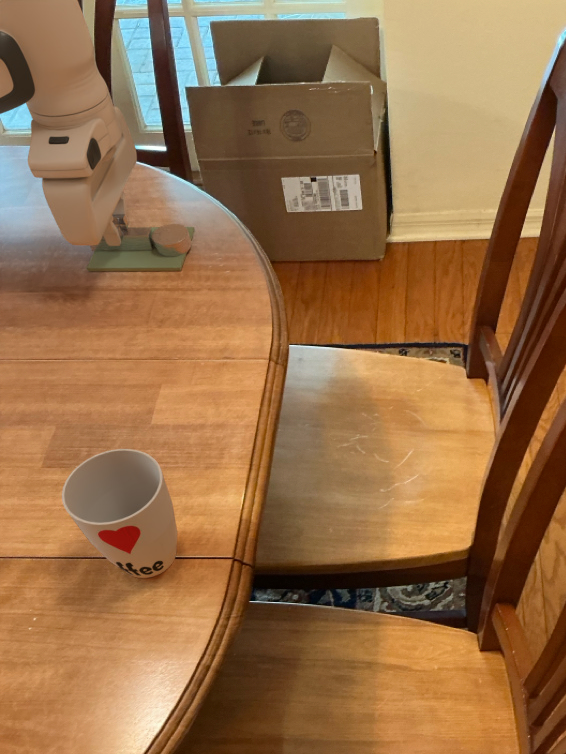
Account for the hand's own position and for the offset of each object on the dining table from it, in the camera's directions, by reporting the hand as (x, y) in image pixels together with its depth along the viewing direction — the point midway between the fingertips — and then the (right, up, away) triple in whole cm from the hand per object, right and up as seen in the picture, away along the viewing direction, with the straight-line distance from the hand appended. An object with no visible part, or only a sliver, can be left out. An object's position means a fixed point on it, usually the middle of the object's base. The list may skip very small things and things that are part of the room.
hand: (119, 235), depth 98 cm
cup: (+13, -40, -27) cm, 50 cm away
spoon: (+3, -1, +1) cm, 3 cm away
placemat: (+2, -1, +2) cm, 3 cm away
